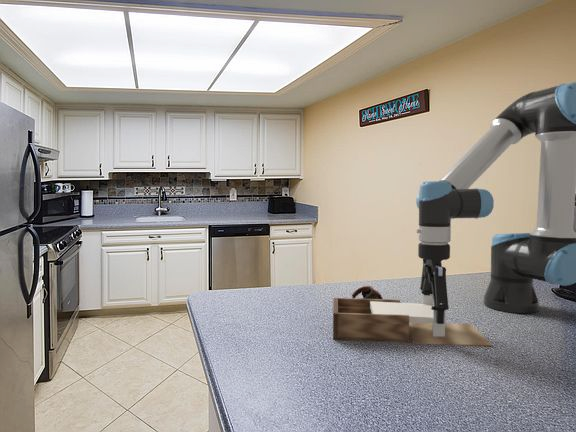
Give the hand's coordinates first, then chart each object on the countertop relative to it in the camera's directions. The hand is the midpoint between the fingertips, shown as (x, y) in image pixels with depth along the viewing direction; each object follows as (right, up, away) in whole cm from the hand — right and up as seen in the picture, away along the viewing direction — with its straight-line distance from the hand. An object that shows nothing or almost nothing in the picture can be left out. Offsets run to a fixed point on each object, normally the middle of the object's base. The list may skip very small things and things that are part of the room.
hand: (432, 327), depth 105 cm
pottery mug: (-12, -1, +21) cm, 25 cm away
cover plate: (-7, +3, +1) cm, 8 cm away
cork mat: (+3, -2, 0) cm, 3 cm away
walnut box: (-16, -1, +2) cm, 16 cm away
